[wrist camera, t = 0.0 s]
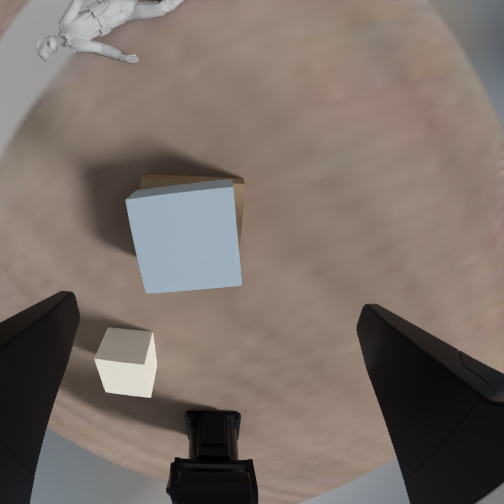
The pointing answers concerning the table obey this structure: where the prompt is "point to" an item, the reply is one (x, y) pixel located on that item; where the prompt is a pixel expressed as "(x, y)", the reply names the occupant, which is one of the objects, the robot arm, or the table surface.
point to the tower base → (169, 180)
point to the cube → (127, 362)
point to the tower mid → (186, 236)
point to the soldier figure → (99, 25)
